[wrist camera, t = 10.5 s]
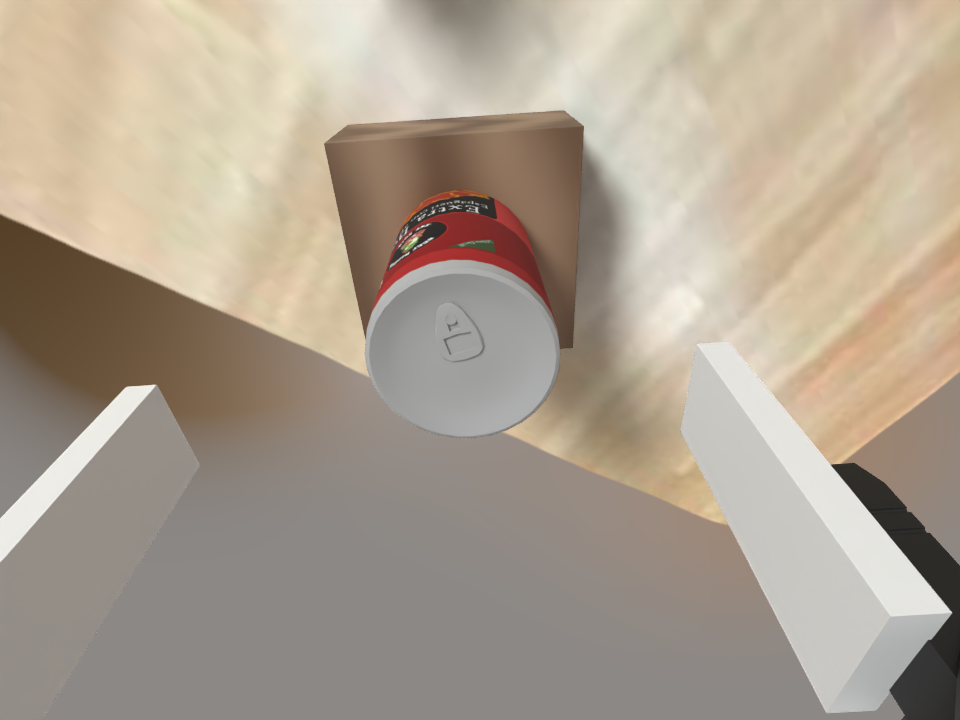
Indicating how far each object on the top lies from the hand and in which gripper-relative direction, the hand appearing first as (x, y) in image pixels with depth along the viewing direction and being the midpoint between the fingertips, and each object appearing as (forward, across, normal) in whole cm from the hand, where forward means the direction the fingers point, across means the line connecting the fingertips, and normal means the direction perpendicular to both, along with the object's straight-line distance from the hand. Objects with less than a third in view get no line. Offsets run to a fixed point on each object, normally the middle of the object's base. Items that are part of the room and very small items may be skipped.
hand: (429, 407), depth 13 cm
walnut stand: (+23, 0, +3) cm, 23 cm away
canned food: (+17, 0, +3) cm, 18 cm away
